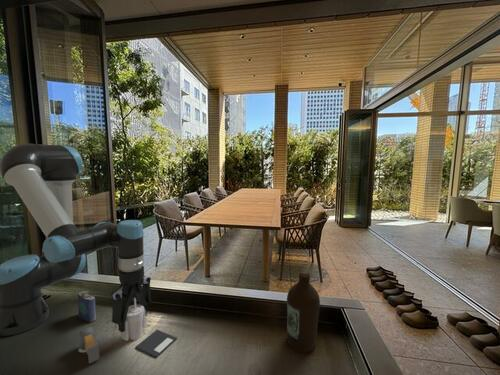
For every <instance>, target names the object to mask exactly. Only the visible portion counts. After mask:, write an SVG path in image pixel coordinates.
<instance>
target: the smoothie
mask: <svg viewBox="0 0 500 375" xmlns="http://www.w3.org/2000/svg"><path fill="white" fill-rule="evenodd" d="M133 303H134V304H132V305H129V308H128V313H127V317H126V320H127V321H128V335H129V339H130V340H131V341H136V340H138V339H140V338H141V337H142V334H143V333H142V331H143V327H142V322H143V313H144V306H143V305H139V303H138V304H137V297H133Z"/></svg>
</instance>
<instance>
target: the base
mask: <svg viewBox="0 0 500 375" xmlns="http://www.w3.org/2000/svg"><path fill="white" fill-rule="evenodd" d="M94 341H95V343H96V344H98V342H97V341H96V340H95V339H94ZM77 352H78V353H80V354H87V352H86V350H82V349H81V346H80V345H79V346H78V347H77Z"/></svg>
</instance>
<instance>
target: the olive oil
mask: <svg viewBox="0 0 500 375" xmlns="http://www.w3.org/2000/svg"><path fill="white" fill-rule="evenodd" d="M310 277H311V276H310V271H309V270H308V269H305V268H304V269H300V270H299V274H298V281H297V282H296V283H295V284H294V285H292V286H291V287H290V288H289V290H288V292H287V296H286V315H287V316H286V323H287V324H286V326H287V327H286V328H287V329H286V333H287V334H286V340H287V344H288V346H289V347H290V348H291V349H292V350H294V351H296V352H299V353H305V354H307V353H310V352H312V351H314V350H315V348H316V344H317V336H318V335H317V334H318V323H319V316H320V307H321V306H320V305H321V300H320V296H319V292H318V291H317V290H316V288H315V287H314V286H313V285H312V284H311V283H310Z"/></svg>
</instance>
